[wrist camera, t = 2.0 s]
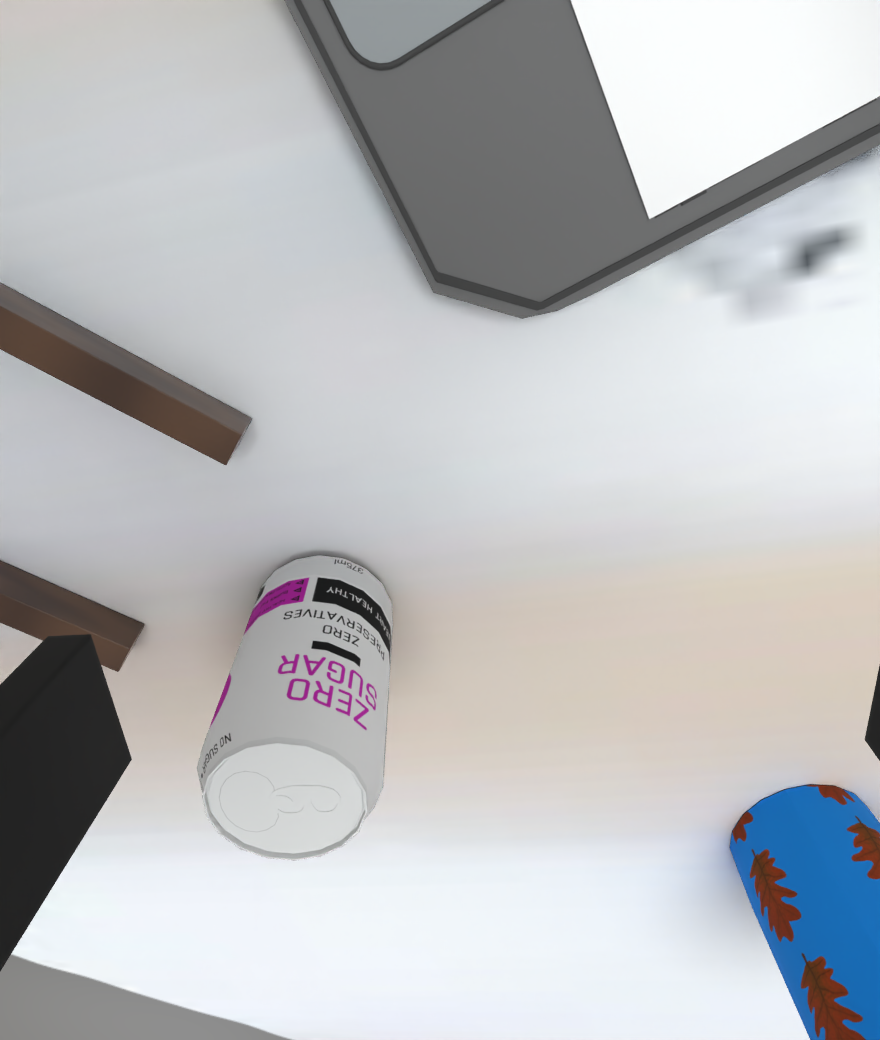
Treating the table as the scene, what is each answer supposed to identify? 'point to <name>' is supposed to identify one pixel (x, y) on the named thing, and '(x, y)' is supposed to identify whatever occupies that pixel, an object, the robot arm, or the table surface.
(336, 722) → the supplement can
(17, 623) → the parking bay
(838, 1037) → the thermos
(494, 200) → the laptop
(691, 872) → the table surface
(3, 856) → the robot arm
